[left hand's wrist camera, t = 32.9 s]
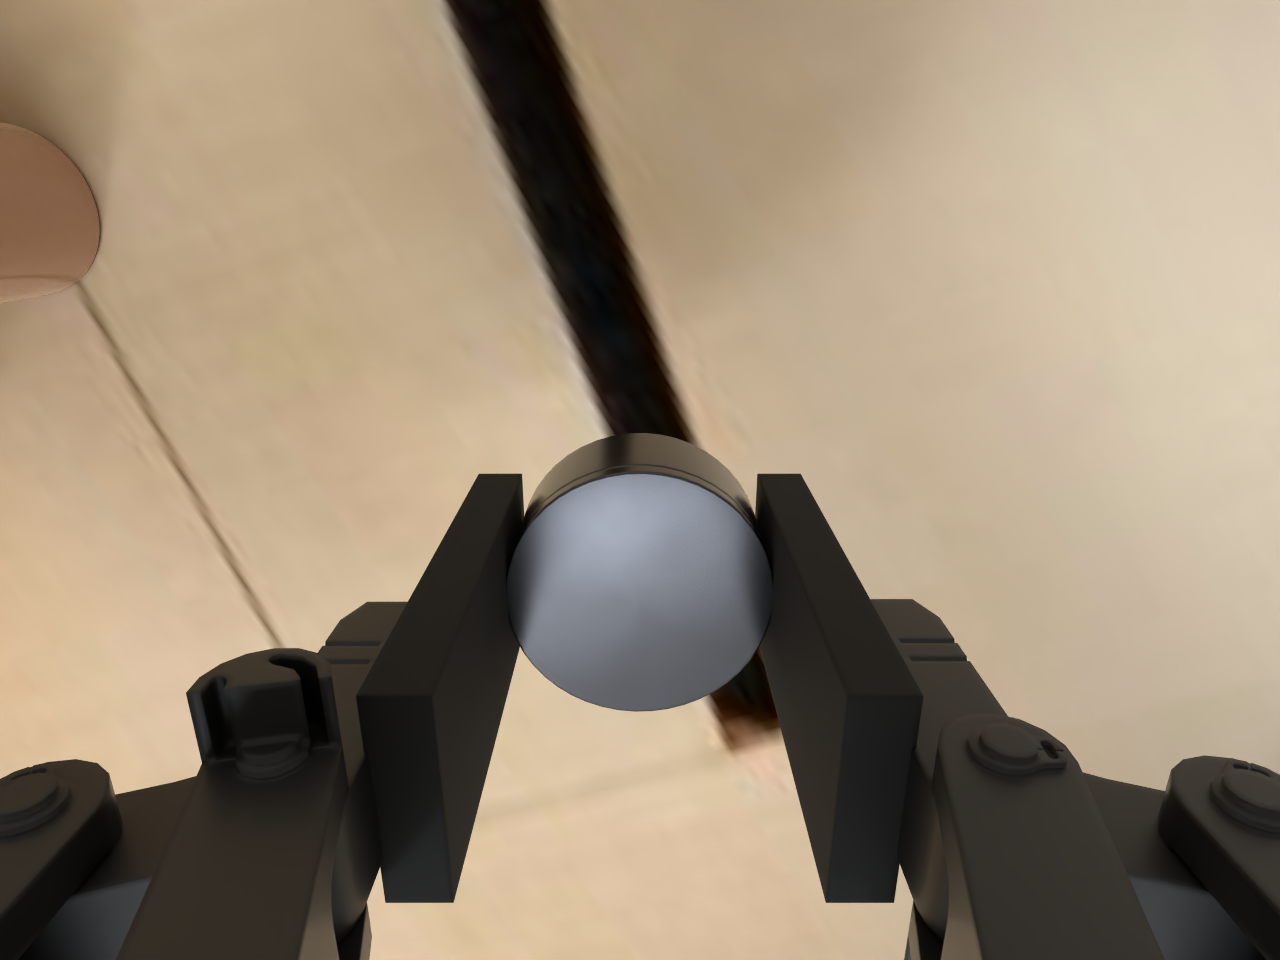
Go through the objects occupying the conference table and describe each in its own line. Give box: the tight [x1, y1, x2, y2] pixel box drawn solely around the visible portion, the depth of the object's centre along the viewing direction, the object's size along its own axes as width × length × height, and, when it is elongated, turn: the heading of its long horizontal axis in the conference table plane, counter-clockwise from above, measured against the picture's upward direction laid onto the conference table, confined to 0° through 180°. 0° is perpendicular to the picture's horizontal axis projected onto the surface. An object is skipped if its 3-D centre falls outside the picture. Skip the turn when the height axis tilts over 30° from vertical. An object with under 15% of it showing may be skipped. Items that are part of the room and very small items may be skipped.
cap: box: [506, 433, 773, 711], centre depth 13 cm, size 4×4×2 cm
